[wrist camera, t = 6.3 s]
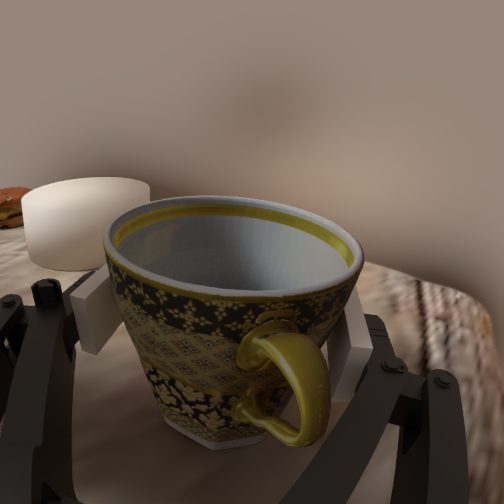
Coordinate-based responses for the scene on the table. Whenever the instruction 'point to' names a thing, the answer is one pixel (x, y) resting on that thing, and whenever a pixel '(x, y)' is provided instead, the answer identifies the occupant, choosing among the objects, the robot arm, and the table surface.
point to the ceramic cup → (232, 312)
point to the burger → (12, 206)
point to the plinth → (76, 219)
